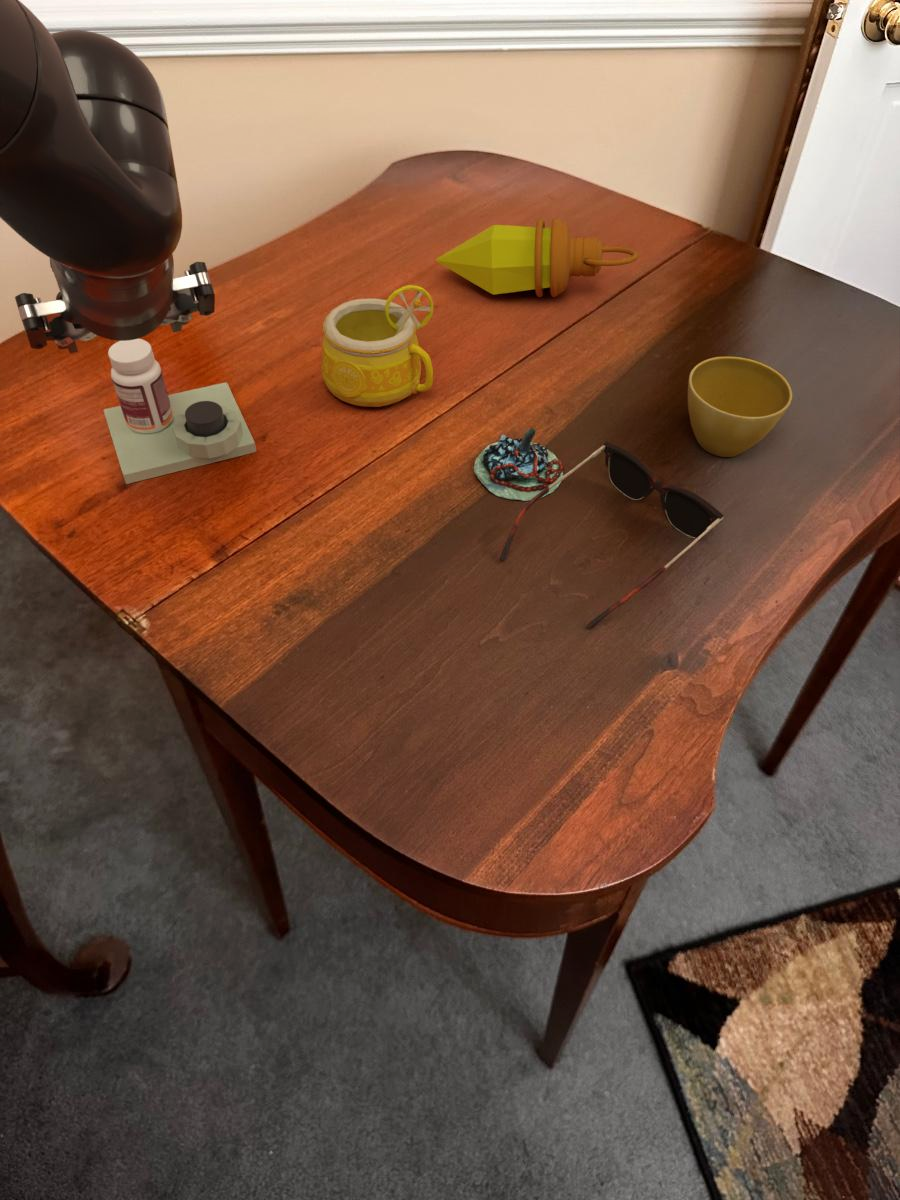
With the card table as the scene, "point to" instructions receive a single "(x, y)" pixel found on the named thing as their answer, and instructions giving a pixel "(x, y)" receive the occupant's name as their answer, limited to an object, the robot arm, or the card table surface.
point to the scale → (179, 437)
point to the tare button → (205, 418)
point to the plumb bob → (529, 258)
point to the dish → (518, 468)
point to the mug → (375, 350)
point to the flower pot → (735, 403)
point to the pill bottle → (140, 386)
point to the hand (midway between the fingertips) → (123, 330)
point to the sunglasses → (637, 483)
